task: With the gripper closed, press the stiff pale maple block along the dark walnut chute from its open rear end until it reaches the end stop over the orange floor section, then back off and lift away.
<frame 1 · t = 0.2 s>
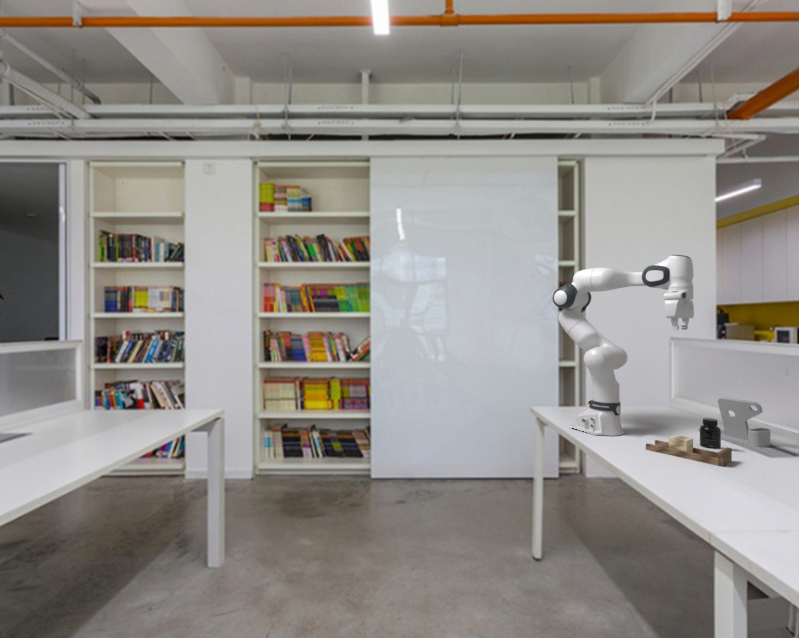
hand: (680, 329, 179), 47 cm above the table, tool pointing down, fingers open, 8 cm apart
supplement bottle: (710, 450, 177), on the table
phone holder: (743, 441, 189), on the table
walnut chute: (686, 458, 165), on the table
maple block: (680, 445, 167), point 4 cm above the table, slide at 0.0 cm
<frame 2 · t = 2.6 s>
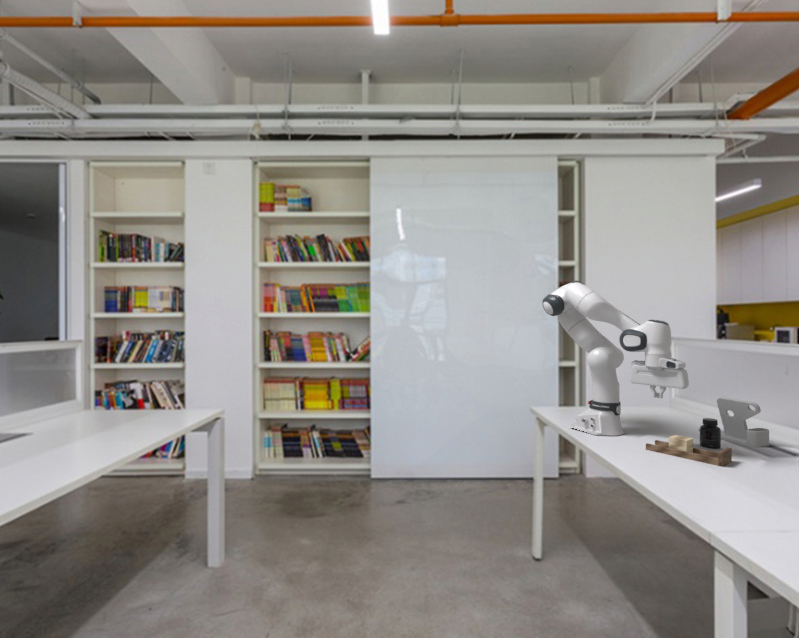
hand: (657, 397, 173), 21 cm above the table, tool pointing down, fingers closed
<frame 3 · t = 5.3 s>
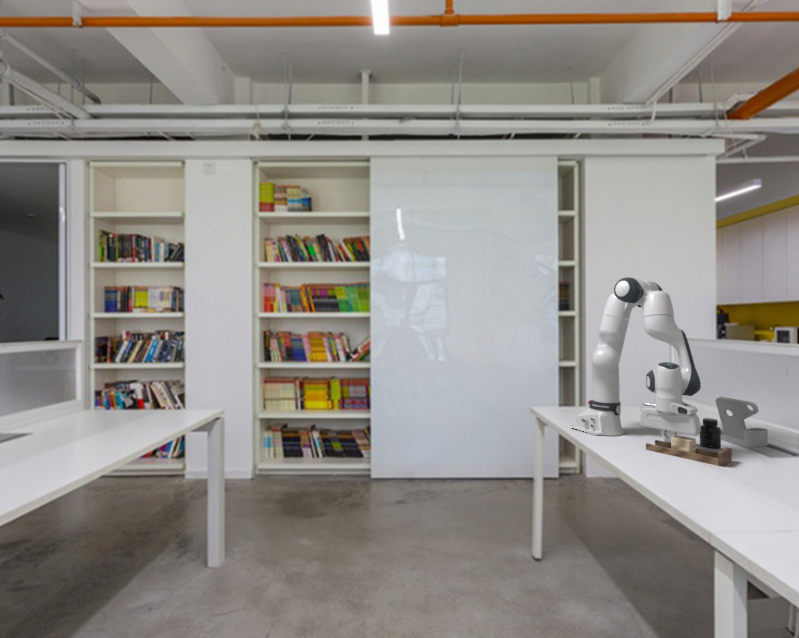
hand: (668, 442, 170), 5 cm above the table, tool pointing down, fingers closed
maple block: (683, 446, 166), point 4 cm above the table, slide at 0.8 cm, touching gripper
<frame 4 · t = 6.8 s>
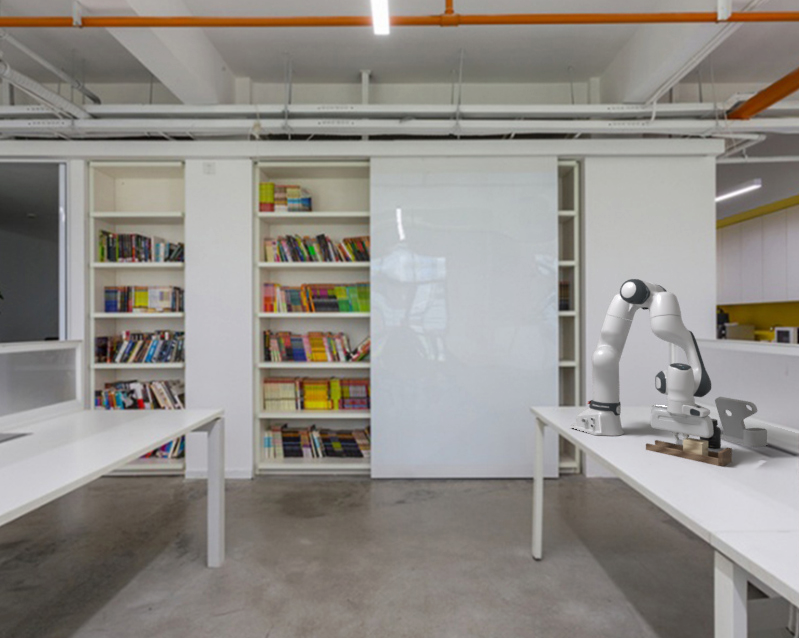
hand: (680, 444, 167), 5 cm above the table, tool pointing down, fingers closed
maple block: (695, 448, 163), point 4 cm above the table, slide at 4.9 cm, touching gripper
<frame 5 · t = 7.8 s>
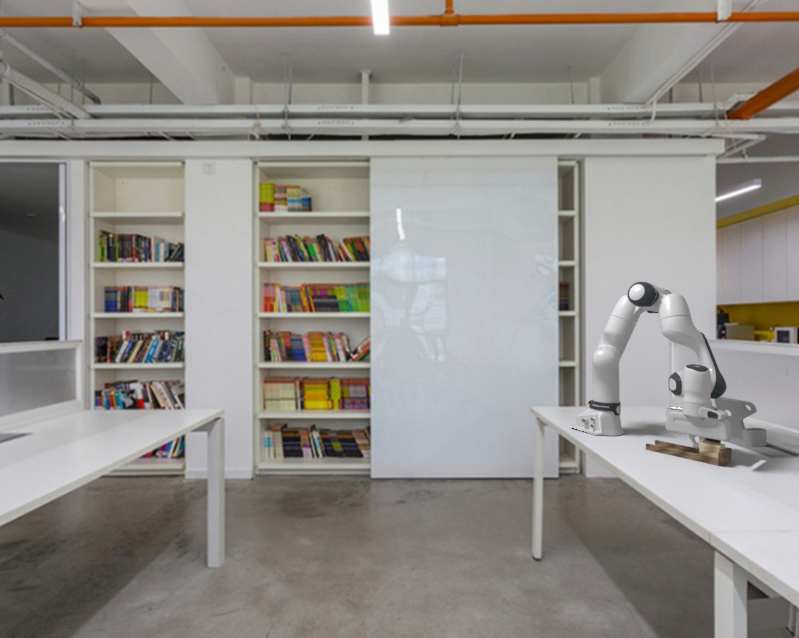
hand: (697, 448, 163), 5 cm above the table, tool pointing down, fingers closed
maple block: (712, 452, 159), point 4 cm above the table, slide at 10.1 cm, touching gripper
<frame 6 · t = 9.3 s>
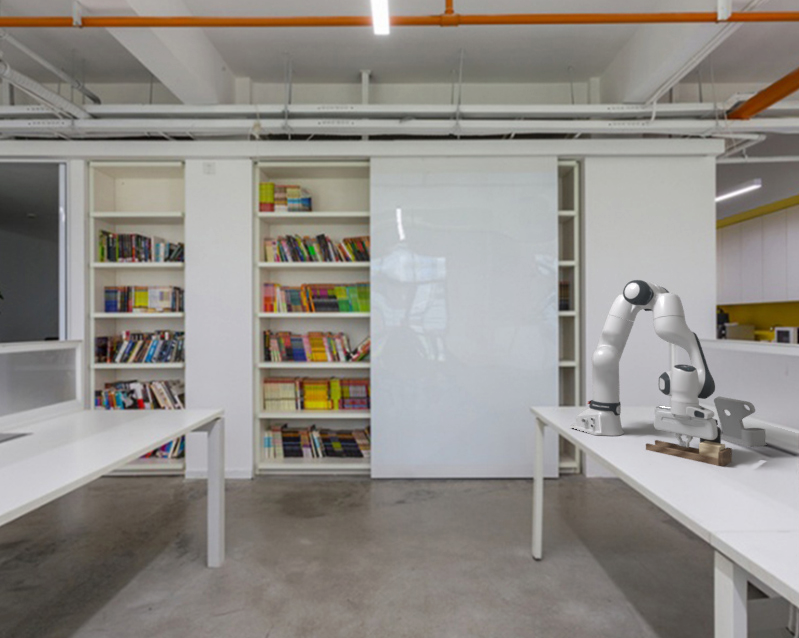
hand: (684, 446, 166), 4 cm above the table, tool pointing down, fingers closed
maple block: (712, 452, 159), point 4 cm above the table, slide at 10.0 cm
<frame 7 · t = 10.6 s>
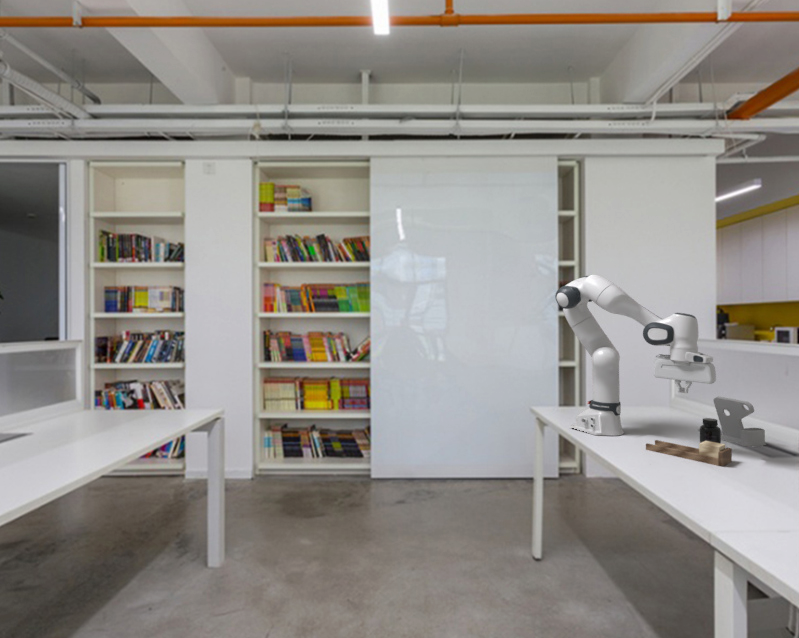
hand: (683, 392, 169), 24 cm above the table, tool pointing down, fingers closed
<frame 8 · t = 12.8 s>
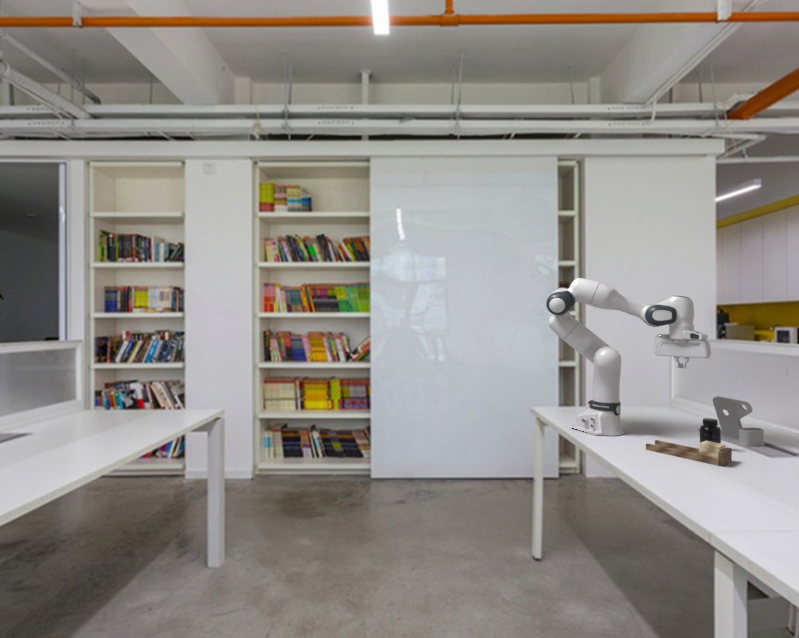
hand: (681, 368, 187), 31 cm above the table, tool pointing down, fingers closed
at the end: maple block slide at 10.0 cm; maple block 0.2 cm from the target spot, point 4.3 cm above the table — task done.
